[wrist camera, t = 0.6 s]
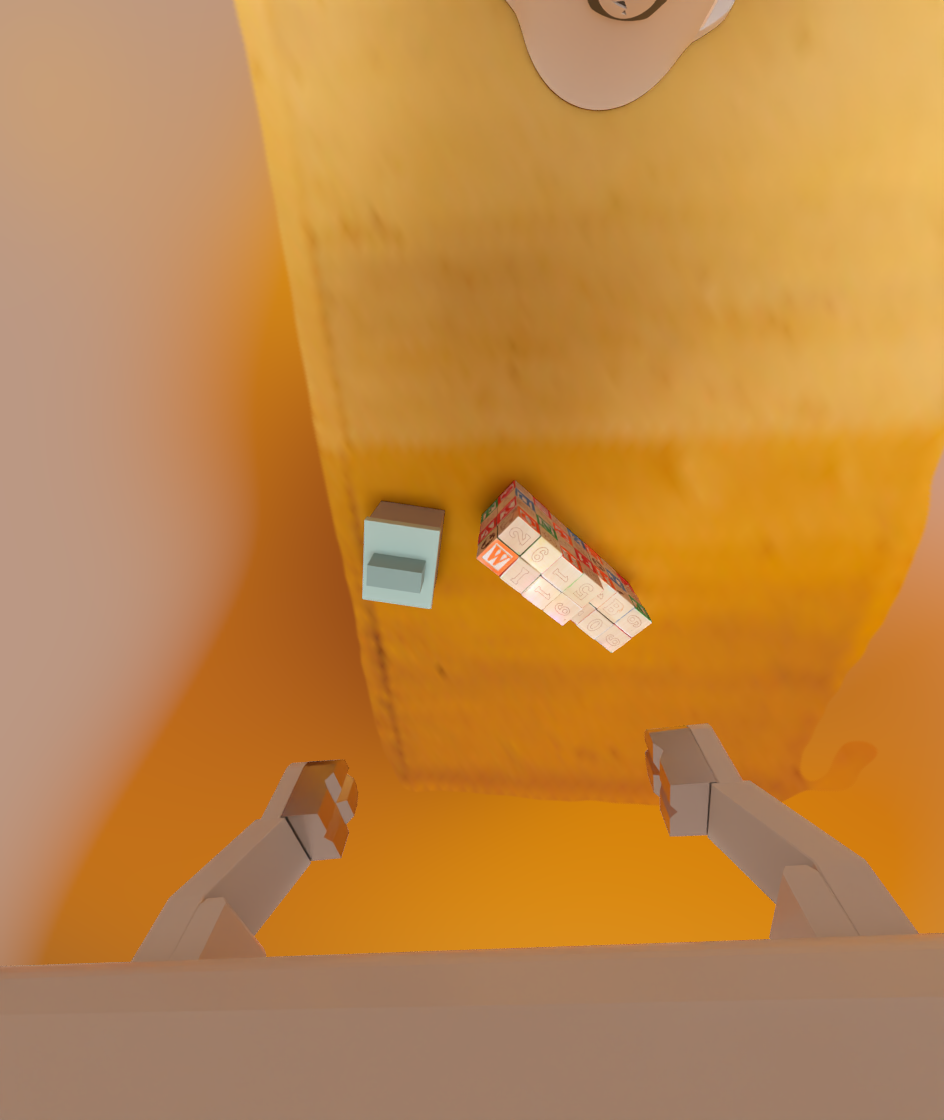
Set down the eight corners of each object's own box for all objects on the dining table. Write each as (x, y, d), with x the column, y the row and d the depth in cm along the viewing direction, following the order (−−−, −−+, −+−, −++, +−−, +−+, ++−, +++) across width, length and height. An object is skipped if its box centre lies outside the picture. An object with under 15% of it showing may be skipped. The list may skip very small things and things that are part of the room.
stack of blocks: (631, 582, 57) (662, 639, 46) (595, 611, 60) (617, 672, 49) (513, 478, 52) (518, 515, 41) (479, 514, 54) (475, 559, 43)
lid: (369, 512, 49) (356, 530, 45) (442, 523, 49) (436, 542, 45) (367, 589, 54) (355, 612, 49) (433, 599, 54) (427, 623, 49)
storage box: (381, 500, 54) (368, 518, 48) (444, 510, 54) (439, 529, 48) (378, 570, 58) (366, 593, 53) (436, 578, 58) (430, 603, 53)
